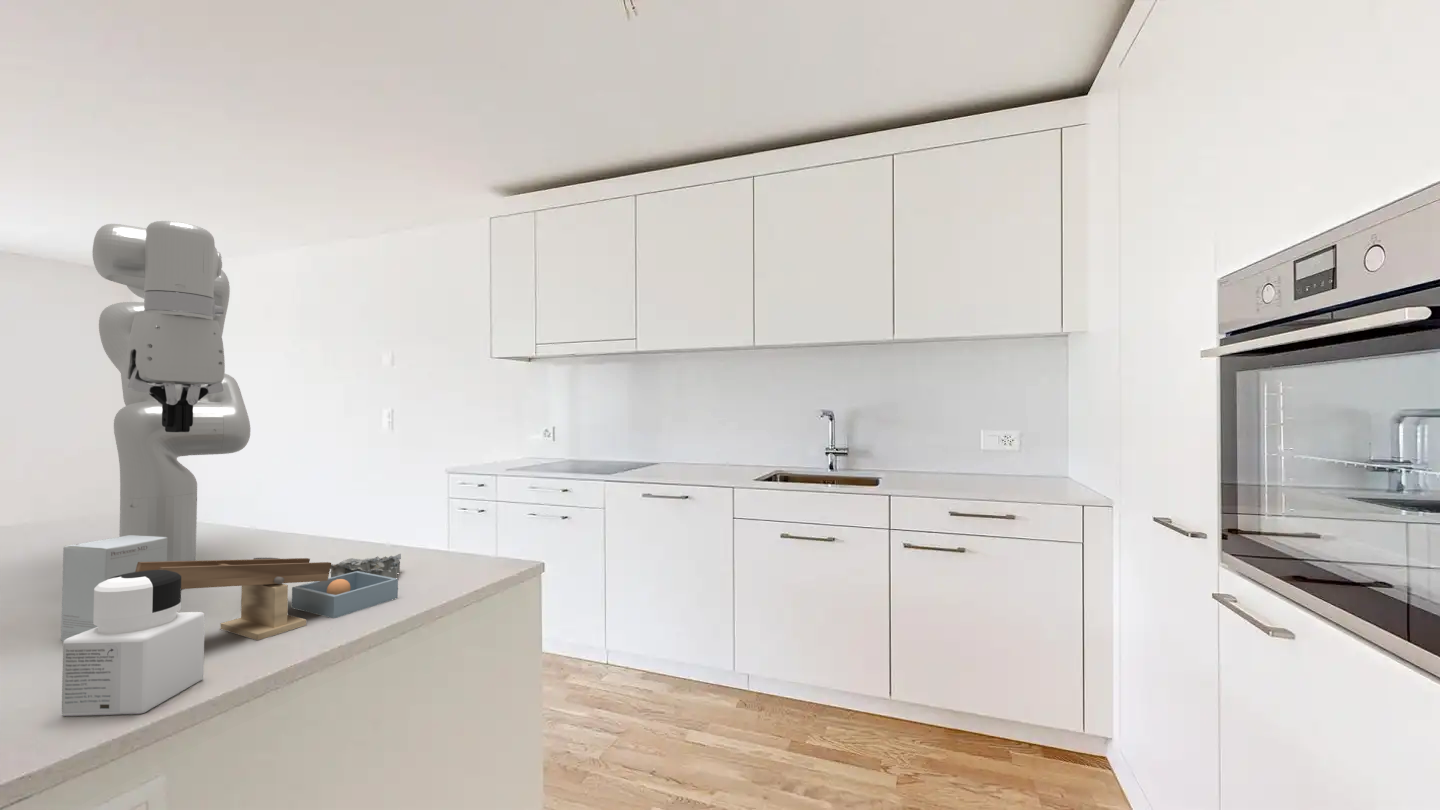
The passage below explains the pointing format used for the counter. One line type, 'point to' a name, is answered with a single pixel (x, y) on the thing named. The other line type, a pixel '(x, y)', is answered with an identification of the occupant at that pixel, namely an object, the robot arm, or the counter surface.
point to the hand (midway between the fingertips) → (177, 431)
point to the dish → (345, 594)
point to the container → (133, 647)
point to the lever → (242, 571)
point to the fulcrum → (263, 612)
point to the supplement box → (100, 573)
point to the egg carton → (369, 566)
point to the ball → (338, 587)
